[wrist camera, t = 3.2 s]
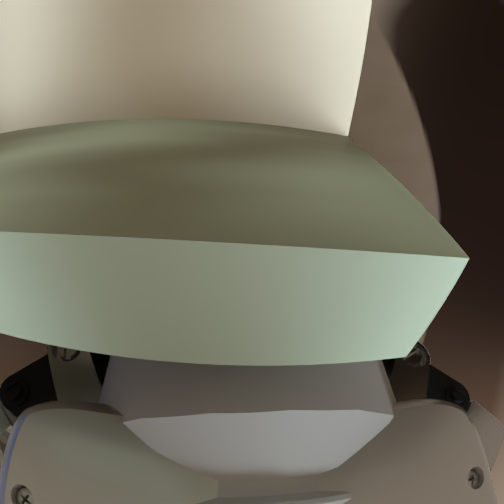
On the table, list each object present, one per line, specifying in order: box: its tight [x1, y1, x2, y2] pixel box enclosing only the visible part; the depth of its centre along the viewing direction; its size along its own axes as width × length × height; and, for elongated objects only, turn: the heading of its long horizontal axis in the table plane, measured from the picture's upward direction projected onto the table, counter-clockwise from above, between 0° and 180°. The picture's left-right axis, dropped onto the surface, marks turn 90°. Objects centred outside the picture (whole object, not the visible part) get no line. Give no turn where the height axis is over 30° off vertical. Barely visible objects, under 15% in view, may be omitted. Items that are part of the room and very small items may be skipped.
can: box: [99, 355, 396, 504], centre depth 10 cm, size 8×8×12 cm
